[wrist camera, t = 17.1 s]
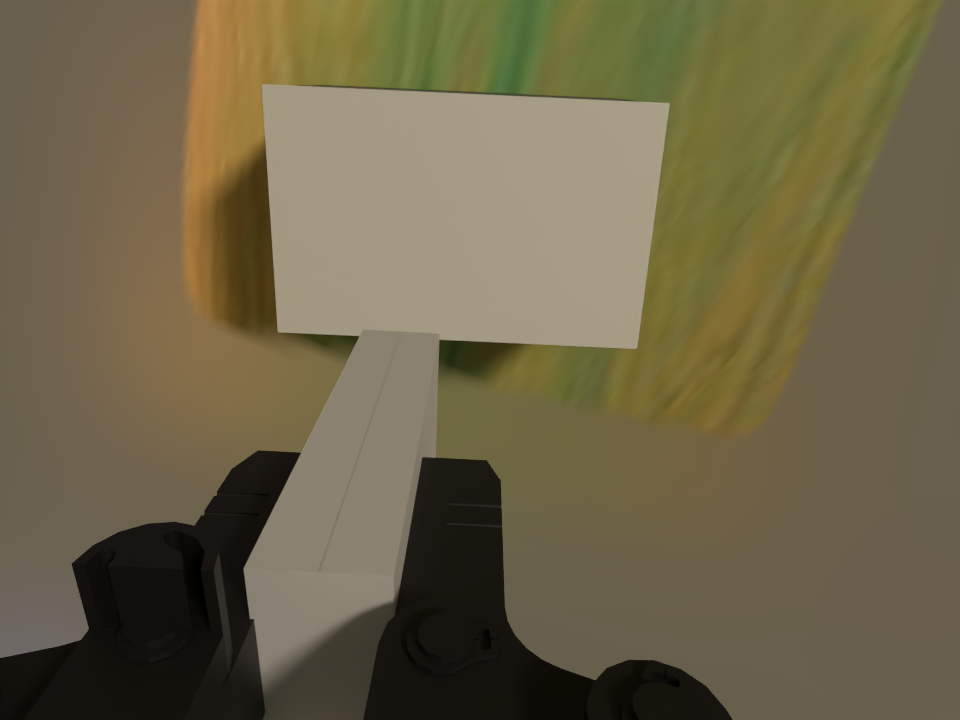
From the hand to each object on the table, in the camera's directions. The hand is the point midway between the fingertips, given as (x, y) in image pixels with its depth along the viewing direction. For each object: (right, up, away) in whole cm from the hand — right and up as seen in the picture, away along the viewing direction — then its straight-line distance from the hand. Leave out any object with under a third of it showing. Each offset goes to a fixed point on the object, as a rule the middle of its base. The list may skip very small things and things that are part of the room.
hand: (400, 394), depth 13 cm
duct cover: (+1, +7, +15) cm, 16 cm away
